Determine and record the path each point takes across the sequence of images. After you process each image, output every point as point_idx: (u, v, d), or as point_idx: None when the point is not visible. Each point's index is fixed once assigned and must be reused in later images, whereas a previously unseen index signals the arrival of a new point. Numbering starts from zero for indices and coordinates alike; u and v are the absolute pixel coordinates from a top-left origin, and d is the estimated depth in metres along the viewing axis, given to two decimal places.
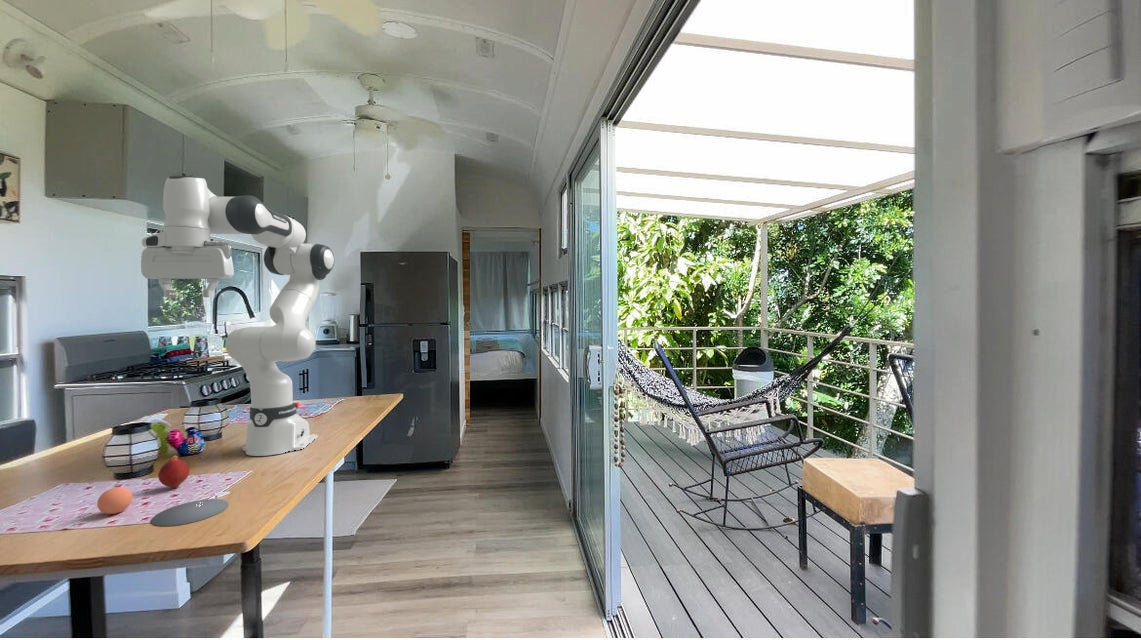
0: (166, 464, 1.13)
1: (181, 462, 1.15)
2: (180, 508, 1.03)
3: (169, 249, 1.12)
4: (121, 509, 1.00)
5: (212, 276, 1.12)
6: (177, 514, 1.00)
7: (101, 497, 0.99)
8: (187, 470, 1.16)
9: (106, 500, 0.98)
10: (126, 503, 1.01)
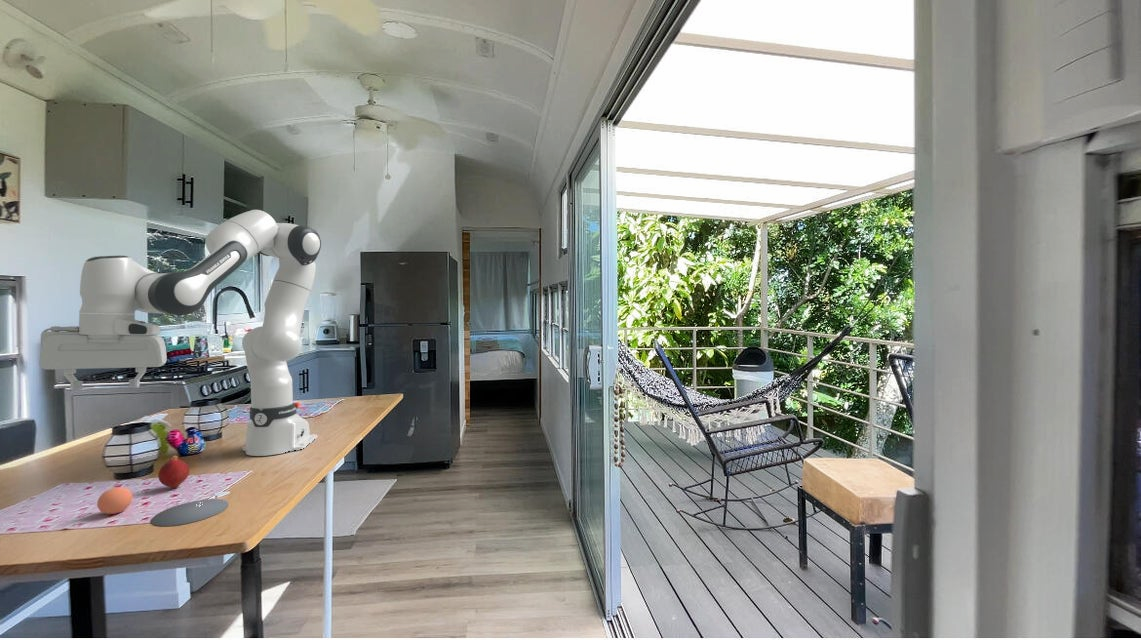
0: (166, 464, 1.13)
1: (181, 462, 1.15)
2: (180, 508, 1.03)
3: None
4: (121, 509, 1.00)
5: None
6: (177, 514, 1.00)
7: (101, 497, 0.99)
8: (187, 470, 1.16)
9: (106, 500, 0.98)
10: (126, 503, 1.01)
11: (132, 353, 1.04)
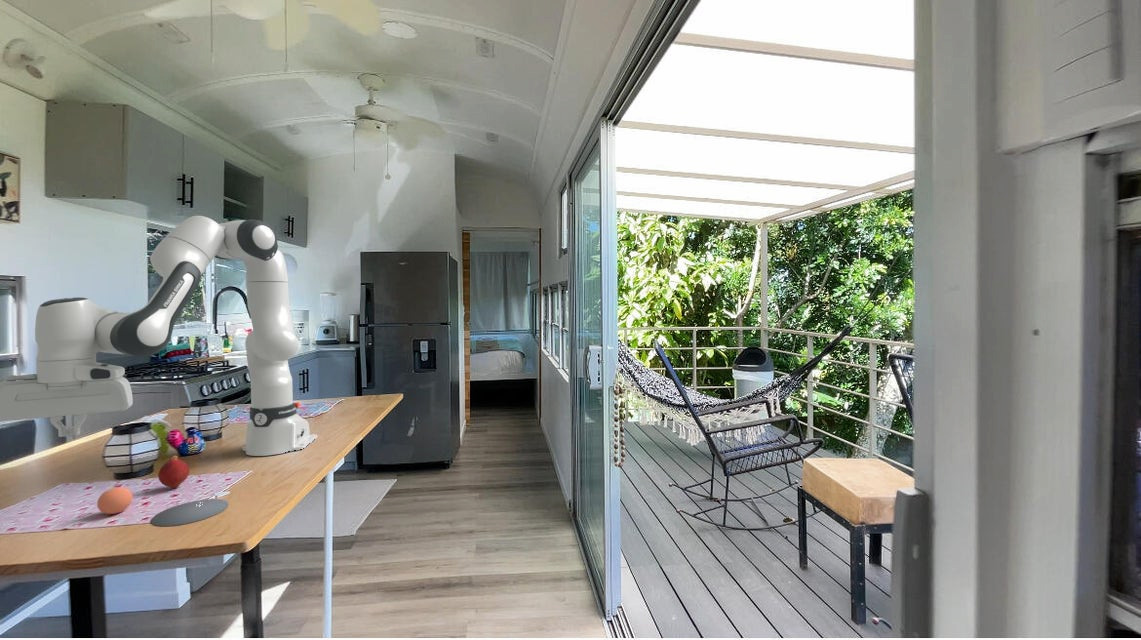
0: (166, 464, 1.13)
1: (181, 462, 1.15)
2: (180, 508, 1.03)
3: None
4: (121, 509, 1.00)
5: None
6: (177, 514, 1.00)
7: (101, 497, 0.99)
8: (187, 470, 1.16)
9: (106, 500, 0.98)
10: (126, 503, 1.01)
11: (96, 398, 1.01)
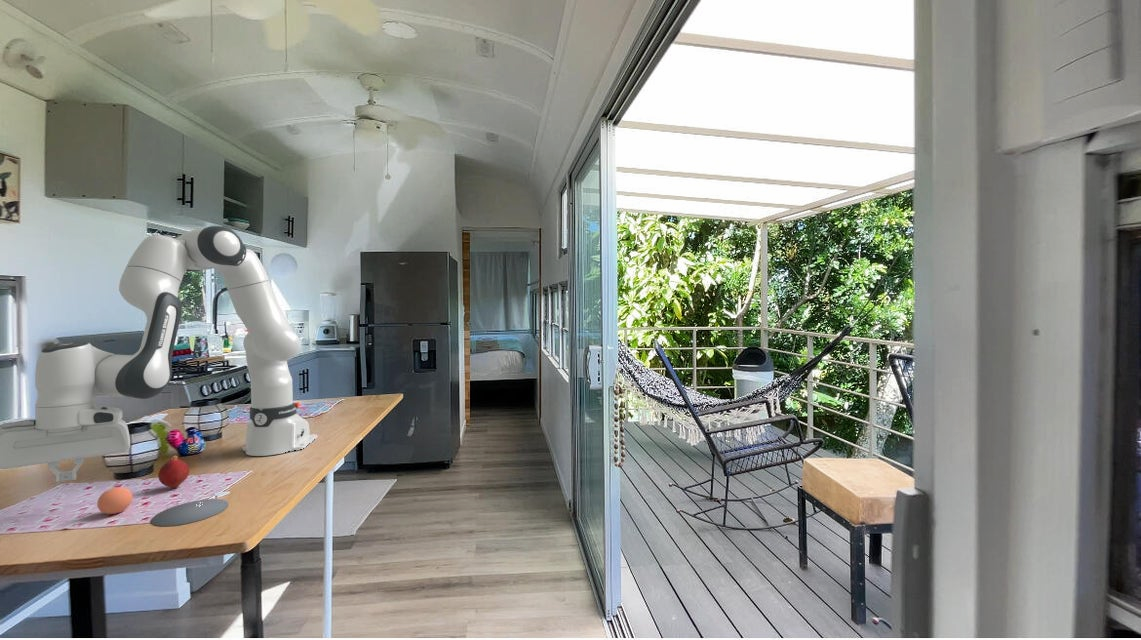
0: (166, 464, 1.13)
1: (181, 462, 1.15)
2: (180, 508, 1.03)
3: None
4: (121, 509, 1.00)
5: None
6: (177, 514, 1.00)
7: (101, 497, 0.99)
8: (187, 470, 1.16)
9: (106, 500, 0.98)
10: (126, 503, 1.01)
11: (97, 441, 1.02)
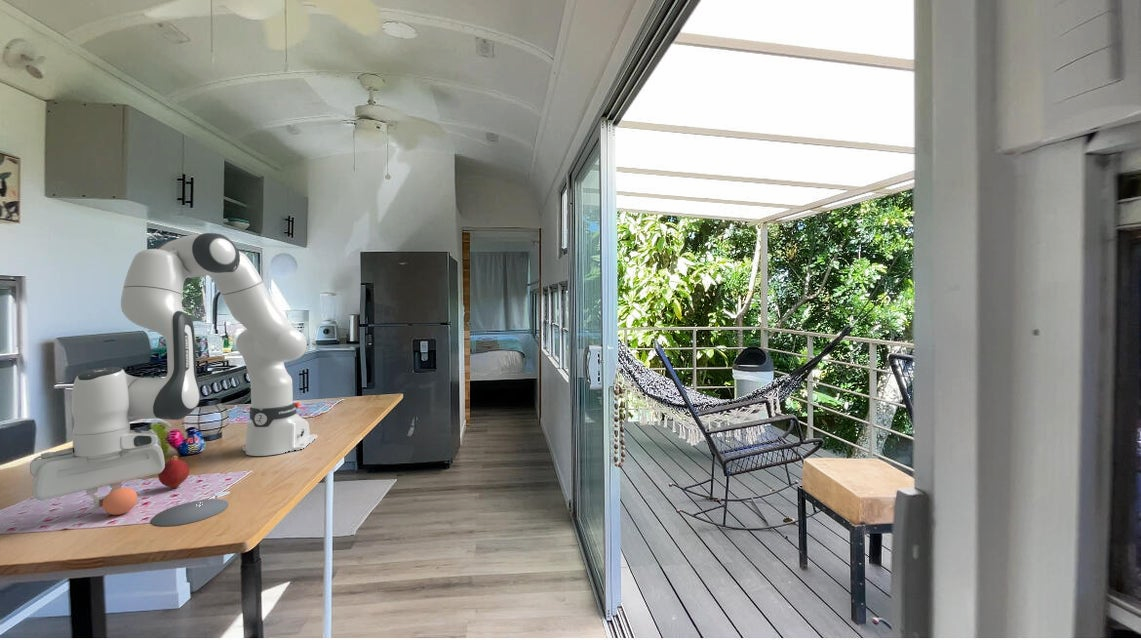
0: (166, 464, 1.13)
1: (181, 462, 1.15)
2: (180, 508, 1.03)
3: None
4: None
5: None
6: (177, 514, 1.00)
7: (108, 498, 0.98)
8: (187, 470, 1.16)
9: (113, 503, 0.98)
10: (130, 508, 1.01)
11: (134, 465, 1.04)
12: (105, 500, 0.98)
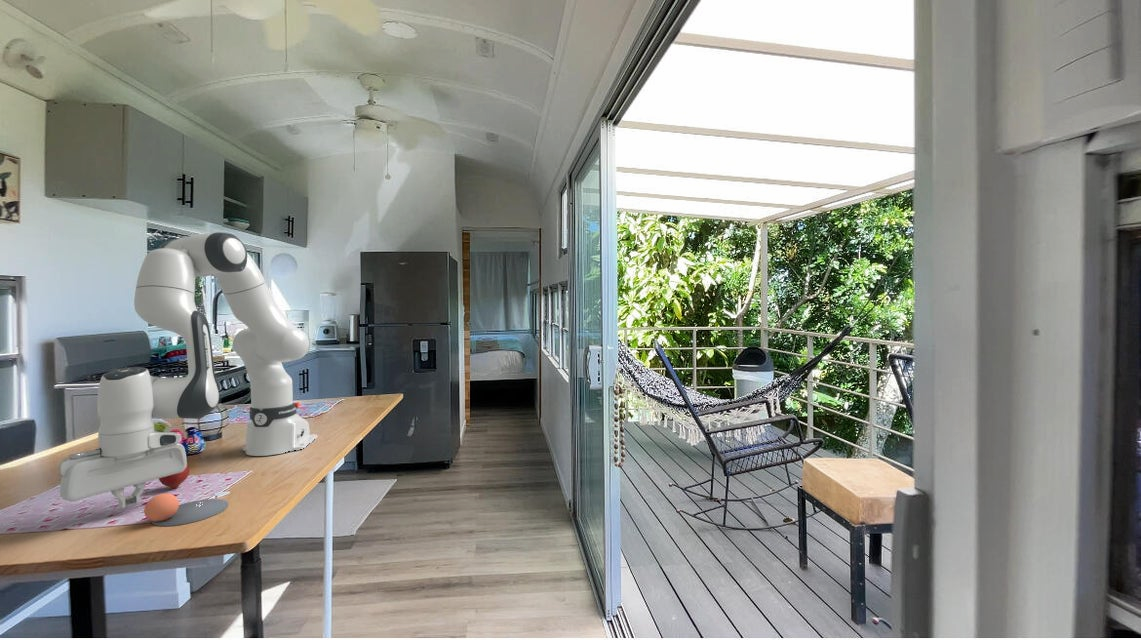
0: None
1: None
2: (180, 508, 1.03)
3: None
4: (167, 500, 0.97)
5: None
6: (177, 514, 1.00)
7: (144, 510, 0.96)
8: (187, 470, 1.16)
9: (146, 504, 0.95)
10: (168, 495, 0.97)
11: (159, 464, 1.04)
12: None
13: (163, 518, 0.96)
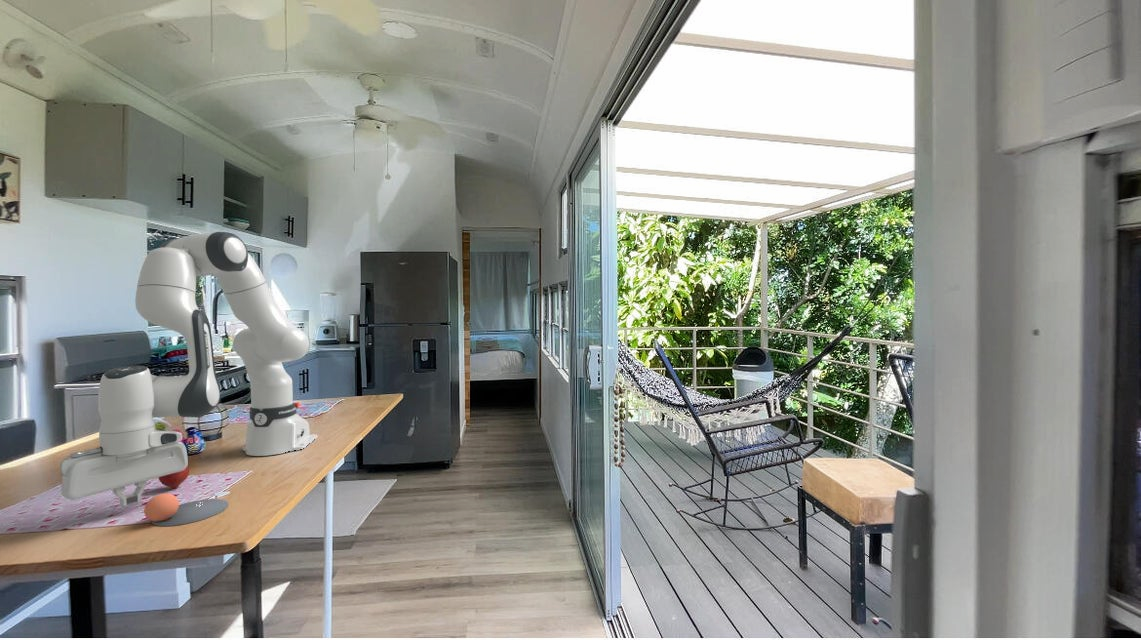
0: None
1: None
2: (180, 508, 1.03)
3: None
4: (167, 500, 0.97)
5: None
6: (177, 514, 1.00)
7: (144, 510, 0.96)
8: (187, 470, 1.16)
9: (146, 504, 0.95)
10: (168, 495, 0.97)
11: (160, 462, 1.04)
12: None
13: (163, 518, 0.96)
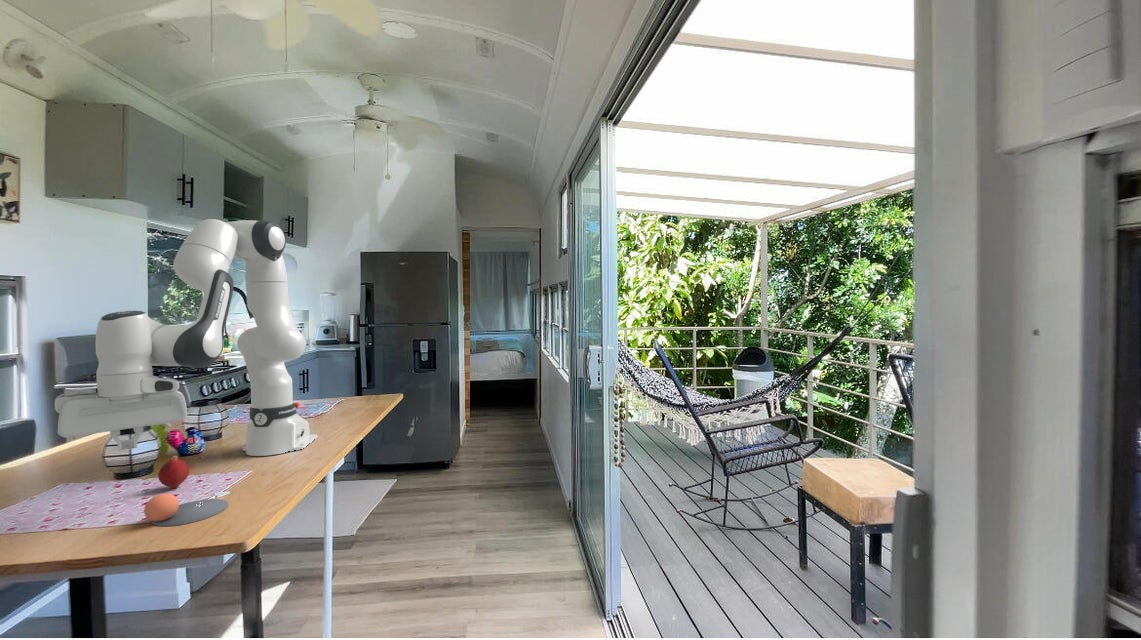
0: (166, 464, 1.13)
1: (181, 462, 1.15)
2: (180, 508, 1.03)
3: None
4: (167, 500, 0.97)
5: None
6: (177, 514, 1.00)
7: (144, 510, 0.96)
8: (187, 470, 1.16)
9: (146, 504, 0.95)
10: (168, 495, 0.97)
11: (157, 410, 1.03)
12: None
13: (163, 518, 0.96)
